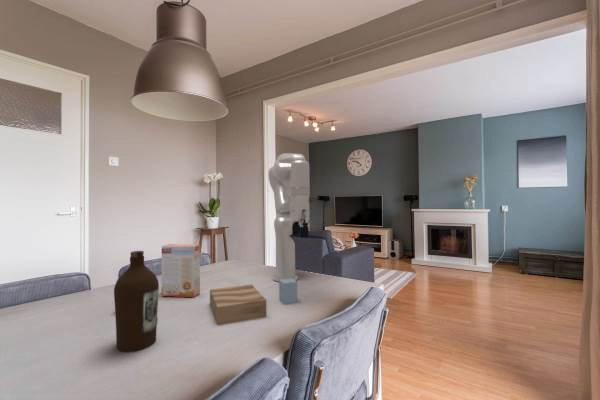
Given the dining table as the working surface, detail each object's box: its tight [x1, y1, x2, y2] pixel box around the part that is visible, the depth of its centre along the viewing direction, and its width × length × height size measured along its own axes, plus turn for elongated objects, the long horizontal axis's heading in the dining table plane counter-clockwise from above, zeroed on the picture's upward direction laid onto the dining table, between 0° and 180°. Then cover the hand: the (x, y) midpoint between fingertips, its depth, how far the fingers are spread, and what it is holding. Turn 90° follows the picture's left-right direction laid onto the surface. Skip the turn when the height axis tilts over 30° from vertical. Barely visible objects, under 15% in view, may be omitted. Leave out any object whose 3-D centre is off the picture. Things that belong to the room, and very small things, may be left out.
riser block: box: [209, 284, 267, 326], centre depth 103 cm, size 20×16×6 cm
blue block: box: [278, 278, 298, 305], centre depth 112 cm, size 6×6×8 cm
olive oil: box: [113, 250, 160, 353], centre depth 79 cm, size 11×11×25 cm
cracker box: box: [161, 243, 201, 298], centre depth 120 cm, size 14×6×21 cm, turn 84°
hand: (300, 236), depth 113 cm, fingers open, 9 cm apart
